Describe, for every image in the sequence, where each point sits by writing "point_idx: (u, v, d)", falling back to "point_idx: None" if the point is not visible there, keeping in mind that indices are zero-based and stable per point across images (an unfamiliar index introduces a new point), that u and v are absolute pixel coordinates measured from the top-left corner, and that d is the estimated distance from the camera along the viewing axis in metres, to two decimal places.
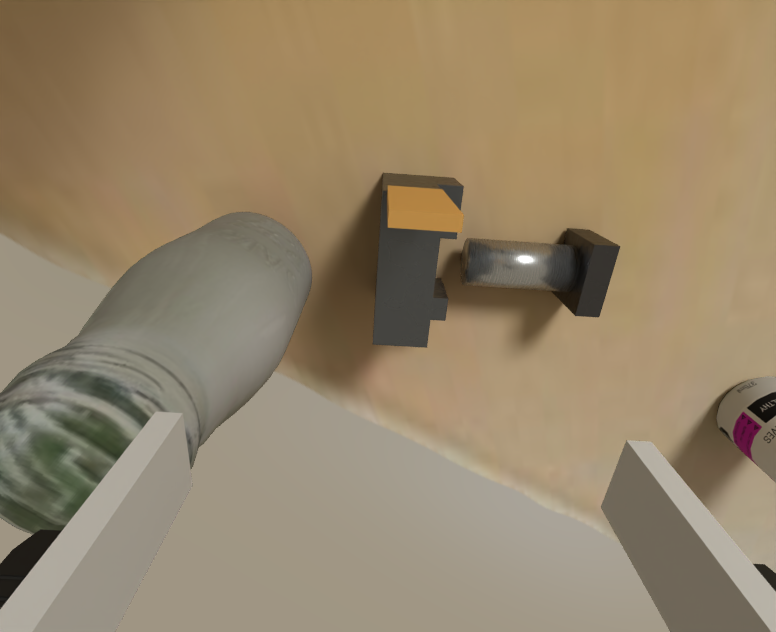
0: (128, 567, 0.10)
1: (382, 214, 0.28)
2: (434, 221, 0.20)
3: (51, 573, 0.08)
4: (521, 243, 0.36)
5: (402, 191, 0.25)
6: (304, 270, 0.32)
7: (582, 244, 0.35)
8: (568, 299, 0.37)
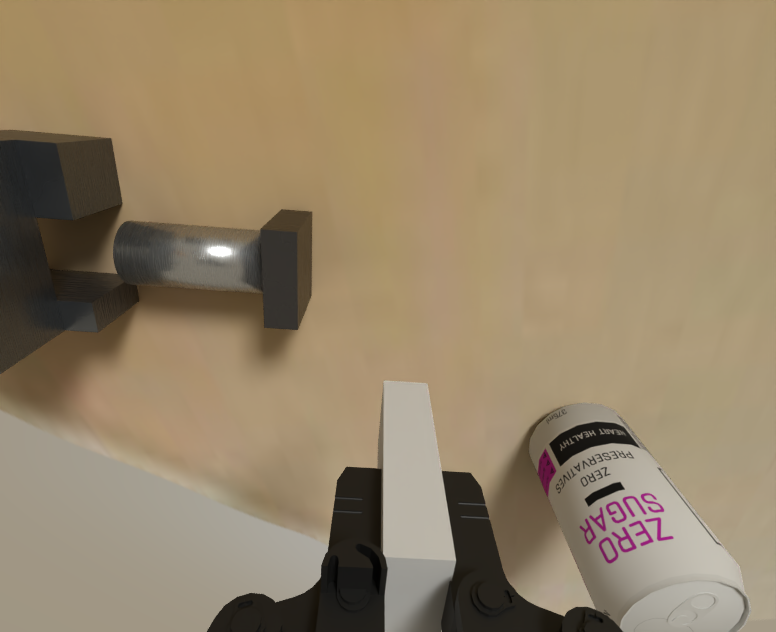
0: None
1: None
2: None
3: (399, 491, 0.10)
4: (197, 228, 0.27)
5: None
6: None
7: None
8: None
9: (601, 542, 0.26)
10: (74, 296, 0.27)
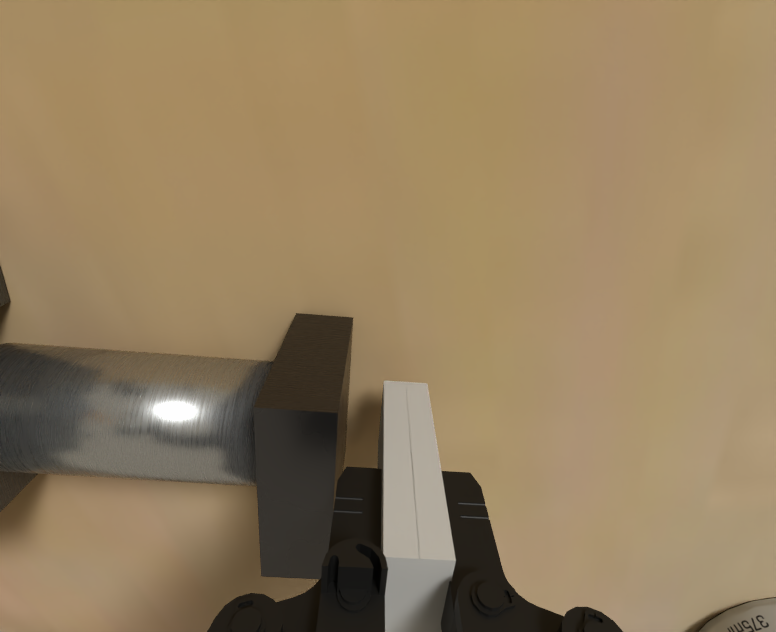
0: None
1: None
2: None
3: (400, 491, 0.10)
4: (129, 365, 0.13)
5: None
6: None
7: None
8: None
9: None
10: None
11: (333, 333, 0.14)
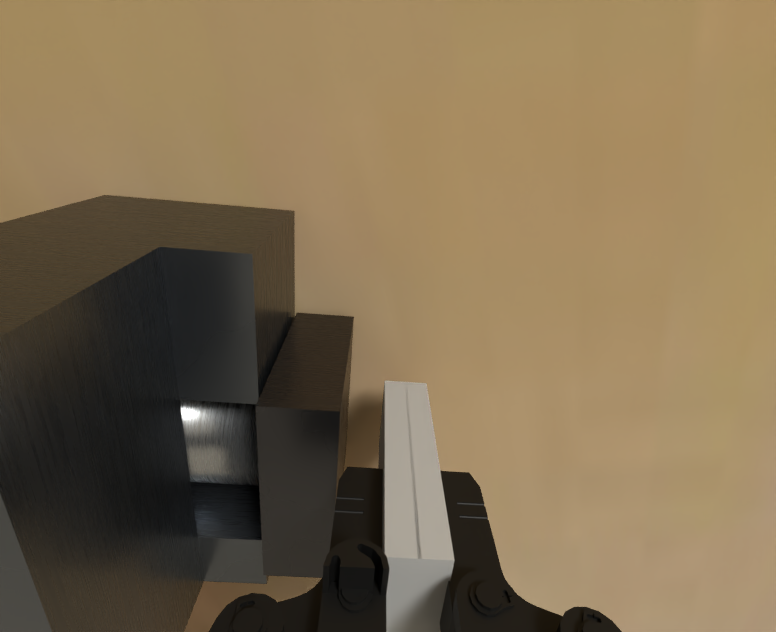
0: None
1: None
2: None
3: (401, 491, 0.10)
4: None
5: None
6: None
7: None
8: None
9: None
10: (224, 518, 0.14)
11: (334, 332, 0.14)
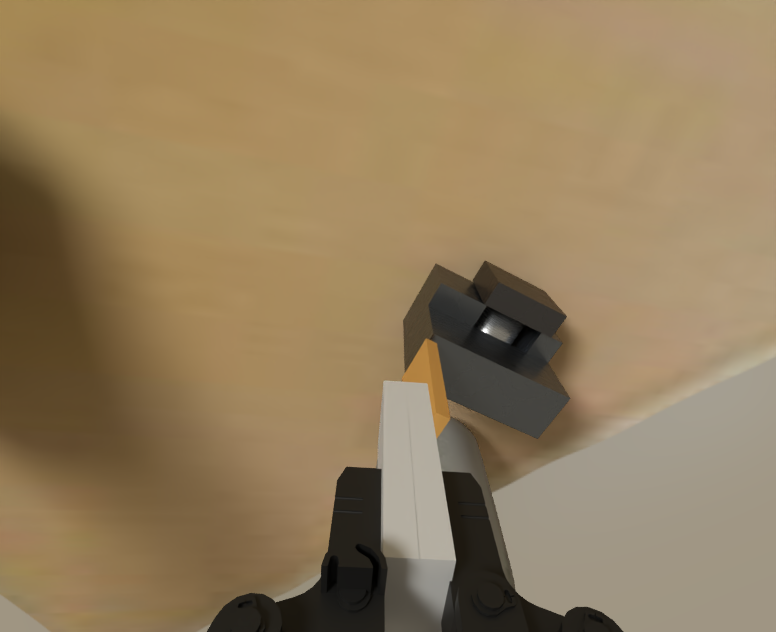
0: None
1: None
2: None
3: (399, 491, 0.10)
4: None
5: None
6: (444, 443, 0.36)
7: None
8: None
9: None
10: (528, 342, 0.35)
11: (484, 271, 0.36)
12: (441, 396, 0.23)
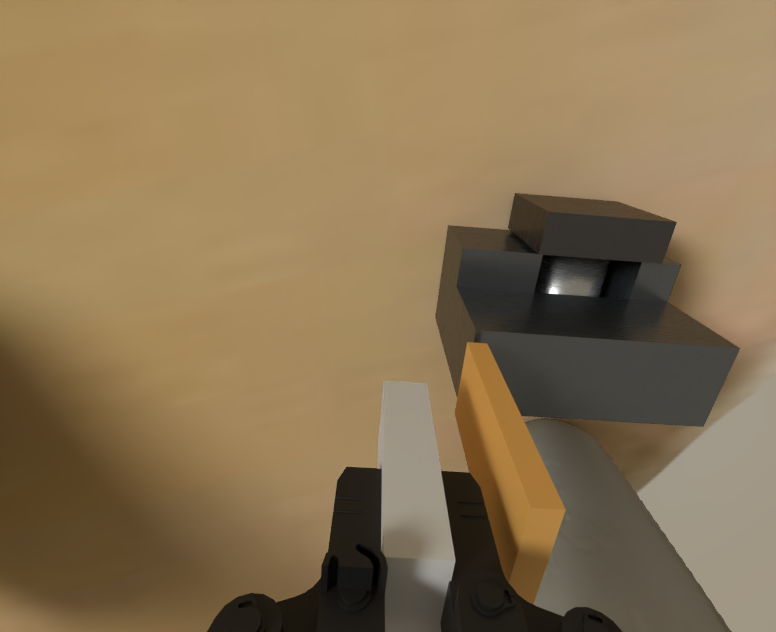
0: None
1: None
2: (534, 548, 0.10)
3: (400, 491, 0.10)
4: None
5: (466, 429, 0.16)
6: (555, 469, 0.24)
7: None
8: None
9: None
10: (625, 284, 0.23)
11: (519, 207, 0.24)
12: (528, 456, 0.11)
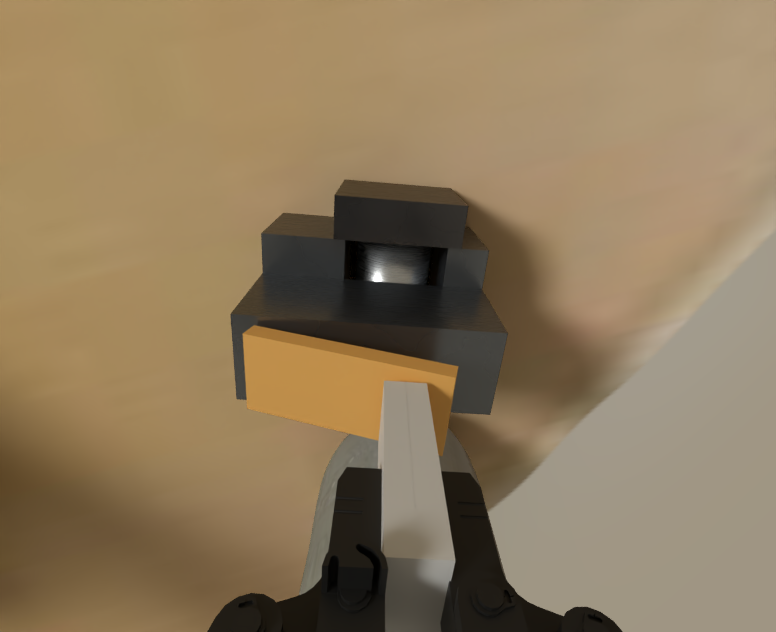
0: None
1: None
2: (451, 403, 0.15)
3: (400, 491, 0.10)
4: None
5: (295, 402, 0.17)
6: None
7: None
8: None
9: None
10: (442, 271, 0.22)
11: None
12: (409, 361, 0.15)
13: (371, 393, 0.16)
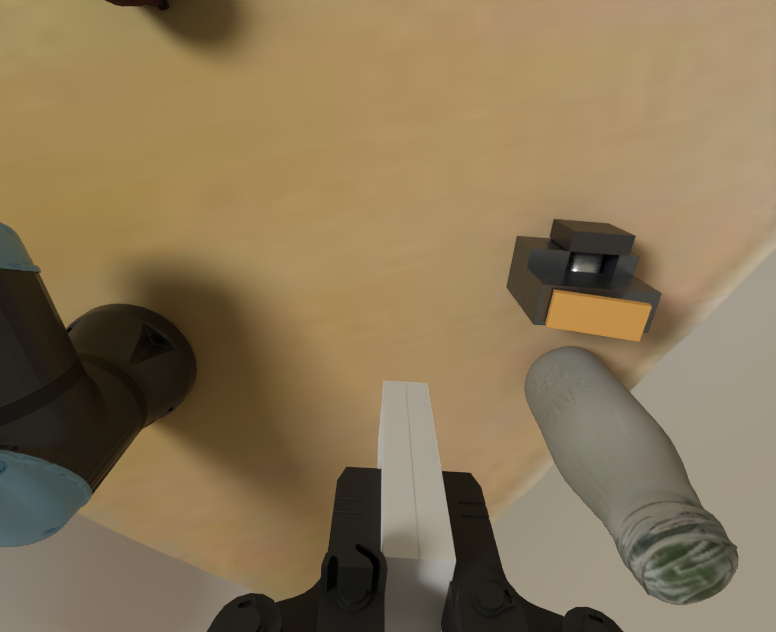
0: None
1: None
2: None
3: (399, 491, 0.10)
4: None
5: (572, 322, 0.39)
6: (575, 364, 0.46)
7: None
8: None
9: None
10: (612, 266, 0.45)
11: (557, 227, 0.46)
12: (629, 301, 0.38)
13: (611, 315, 0.38)
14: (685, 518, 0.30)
